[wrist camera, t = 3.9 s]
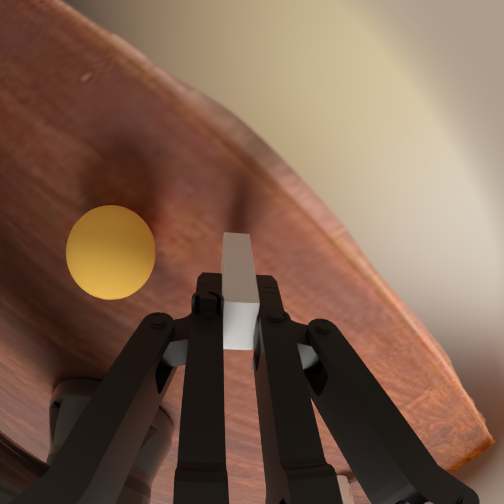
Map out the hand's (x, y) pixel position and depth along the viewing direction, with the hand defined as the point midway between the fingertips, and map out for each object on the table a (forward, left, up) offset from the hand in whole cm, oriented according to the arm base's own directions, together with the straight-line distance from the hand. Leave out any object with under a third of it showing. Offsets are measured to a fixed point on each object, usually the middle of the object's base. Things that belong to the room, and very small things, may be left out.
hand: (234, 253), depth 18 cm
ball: (0, +7, +1) cm, 7 cm away
